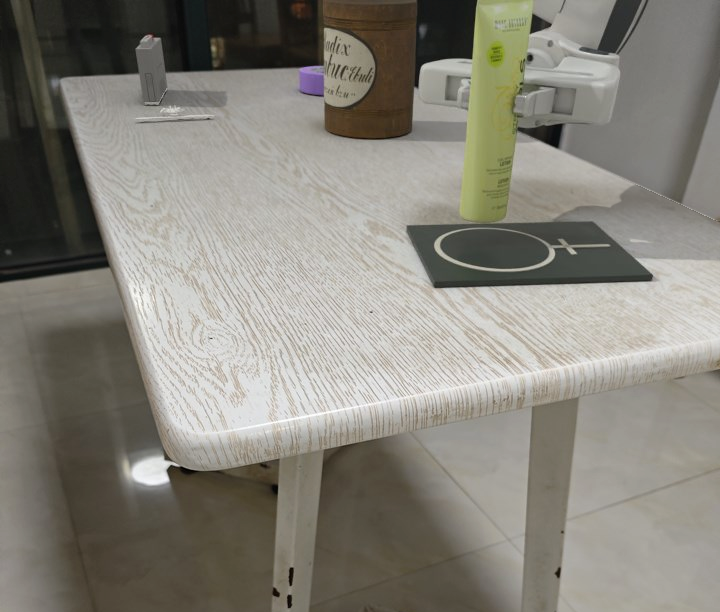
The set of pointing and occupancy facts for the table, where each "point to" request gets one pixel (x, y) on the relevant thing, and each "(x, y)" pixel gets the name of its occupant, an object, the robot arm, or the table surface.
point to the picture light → (176, 113)
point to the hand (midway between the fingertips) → (492, 102)
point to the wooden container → (369, 67)
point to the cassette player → (151, 68)
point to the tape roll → (312, 80)
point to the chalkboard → (522, 254)
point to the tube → (494, 106)
